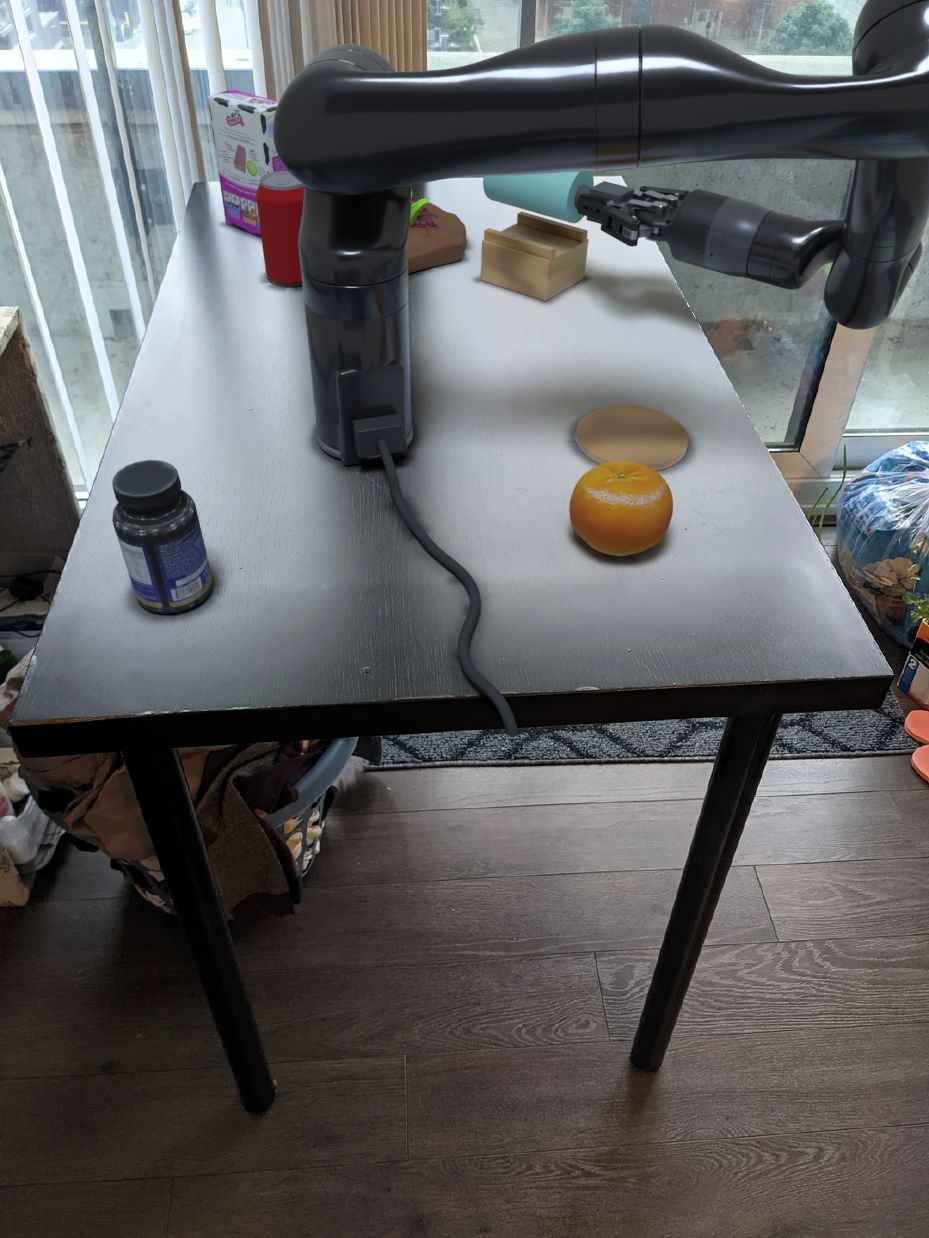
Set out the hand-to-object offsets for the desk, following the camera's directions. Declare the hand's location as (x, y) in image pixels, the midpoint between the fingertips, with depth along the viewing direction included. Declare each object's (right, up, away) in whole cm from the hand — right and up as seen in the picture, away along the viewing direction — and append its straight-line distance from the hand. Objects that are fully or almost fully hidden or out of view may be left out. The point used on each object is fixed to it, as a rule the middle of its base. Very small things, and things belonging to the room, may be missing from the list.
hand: (588, 198), depth 111 cm
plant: (-24, +2, +18) cm, 30 cm away
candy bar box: (-42, +5, +22) cm, 48 cm away
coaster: (+2, -31, -17) cm, 36 cm away
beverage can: (-36, -6, +10) cm, 38 cm away
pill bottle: (-38, -47, -34) cm, 69 cm away
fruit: (-1, -42, -28) cm, 51 cm away
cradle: (-6, -5, +11) cm, 14 cm away
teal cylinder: (-3, +2, +2) cm, 4 cm away
